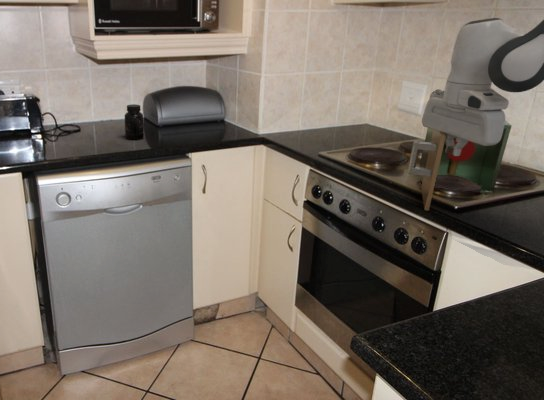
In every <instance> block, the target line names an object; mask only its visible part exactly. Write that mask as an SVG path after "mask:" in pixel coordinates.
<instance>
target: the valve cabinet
mask: <svg viewBox="0 0 544 400" xmlns="http://www.w3.org/2000/svg"><path fill="white" fill-rule="evenodd" d="M426 128H427V127H426ZM511 129H512V124H511V123H510V122H508V121H507V120H505V125H504V130H503V134H502V137H501V140H500V141H499V142H498V143H497V144H496V145H491V146H483V145H480V144H477V143H474V144H475V152H474V154H473V155H472V156H471V157H470V158H469V159H467V160H465V161H458V165H457V169H456V173H455V175H454V176H459V177H463V178H466V179H468V180H470V181H472V182H474V183H477V185H479V186H480V187H481V189H482V192H483V193H485V194H484V195H488V194H492V195H493V193H494V191H495V186H496V183H497V180H498V175H499V172H500V169H501V166H502V162H503V158H504V154H505V151H506V147H507V143H508V141H509V140H508V139H509V137H510V133H511ZM433 131H434V130H433V129H430V128H427V129H426V133H425V138H424V142H429V143H431V140H432V135H433ZM444 134H445V133H444ZM445 149H446V144H445V142H444V147H443V151H442V155H441V160H440V164H439V168H438V173H437V175H449V174H448V169H449V165H450V160H451V159H450V158H449V157H448V155H447V153H446V152H445ZM428 154H429V151H428V150H422V152H421V157H420V162H419V166H418V167H421V168H426V163H427V158H428ZM423 177H424V176H420V175H418V178H419V180H420V183H421V182H422V181H423Z"/></svg>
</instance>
